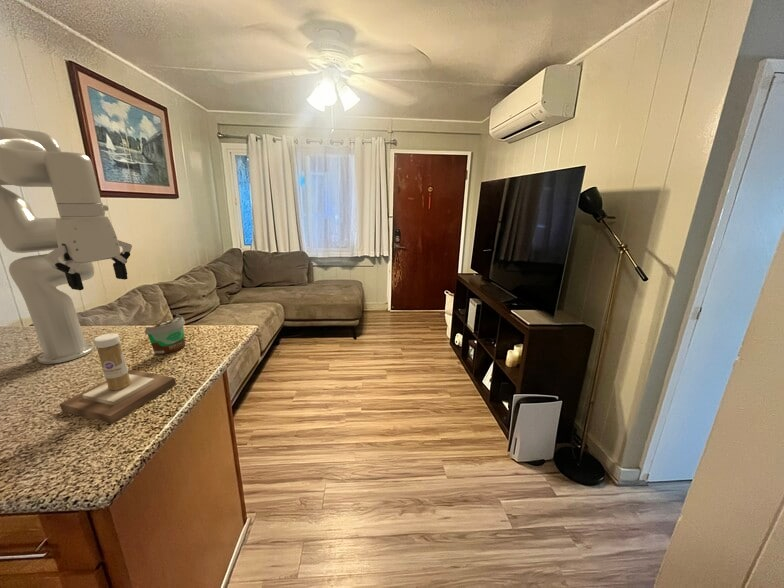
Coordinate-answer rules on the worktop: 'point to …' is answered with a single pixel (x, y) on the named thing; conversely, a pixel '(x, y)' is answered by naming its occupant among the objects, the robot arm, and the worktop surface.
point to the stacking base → (118, 397)
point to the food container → (167, 336)
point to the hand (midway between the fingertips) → (101, 283)
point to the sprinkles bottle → (112, 361)
